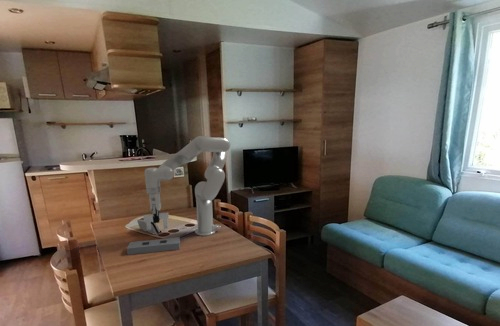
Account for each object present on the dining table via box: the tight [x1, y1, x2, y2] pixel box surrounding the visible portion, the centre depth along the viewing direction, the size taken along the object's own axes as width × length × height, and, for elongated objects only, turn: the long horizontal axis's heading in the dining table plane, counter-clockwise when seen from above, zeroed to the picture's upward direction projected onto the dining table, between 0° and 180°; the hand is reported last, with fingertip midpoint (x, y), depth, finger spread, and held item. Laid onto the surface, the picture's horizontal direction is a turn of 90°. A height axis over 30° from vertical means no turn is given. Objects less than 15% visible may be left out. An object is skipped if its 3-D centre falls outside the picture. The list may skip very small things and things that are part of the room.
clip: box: [143, 212, 170, 231], centre depth 156 cm, size 13×3×8 cm, turn 103°
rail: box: [126, 236, 181, 256], centre depth 148 cm, size 26×8×4 cm, turn 103°
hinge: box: [136, 217, 163, 235], centre depth 173 cm, size 17×5×10 cm, turn 54°
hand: (156, 221), depth 156 cm, fingers closed on clip, 3 cm apart
